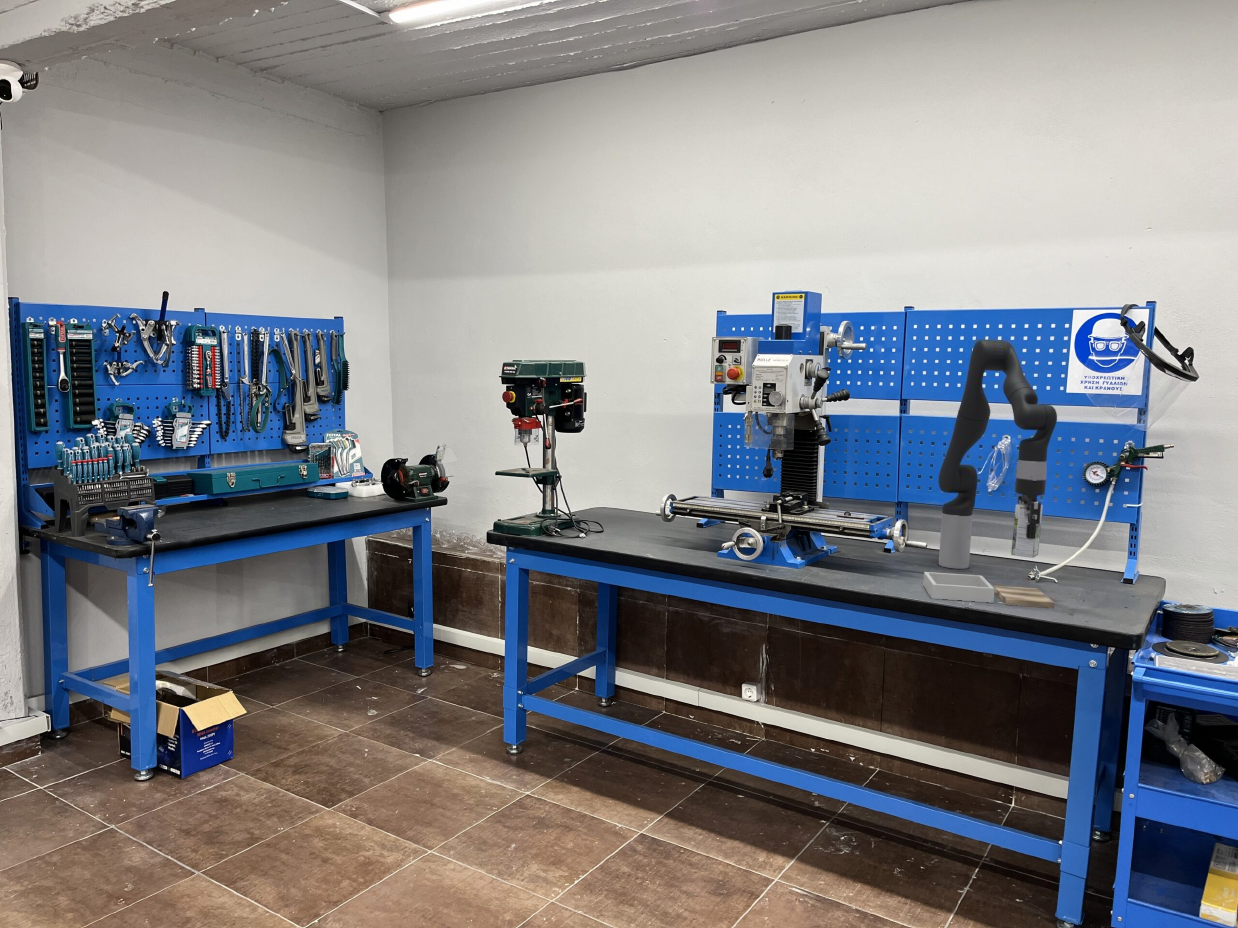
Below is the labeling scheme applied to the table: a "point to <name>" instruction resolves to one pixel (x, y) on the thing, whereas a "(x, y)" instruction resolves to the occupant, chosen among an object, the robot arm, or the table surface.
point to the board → (1023, 596)
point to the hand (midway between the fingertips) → (1026, 535)
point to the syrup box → (1024, 535)
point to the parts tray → (958, 587)
